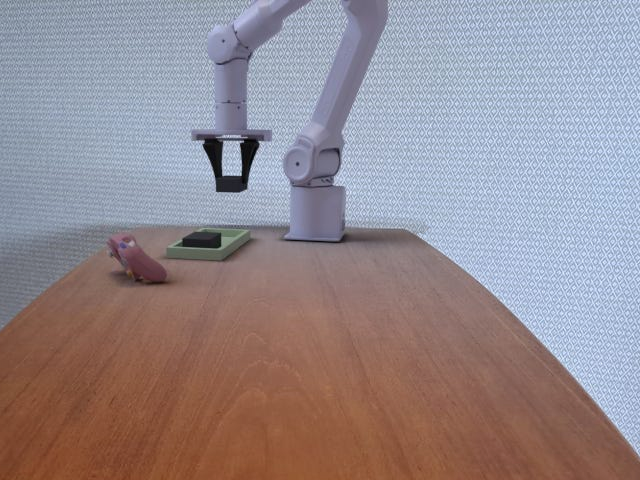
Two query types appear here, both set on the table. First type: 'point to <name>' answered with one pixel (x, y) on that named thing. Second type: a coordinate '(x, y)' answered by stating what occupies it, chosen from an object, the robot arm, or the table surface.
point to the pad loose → (230, 184)
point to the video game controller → (134, 258)
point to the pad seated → (202, 240)
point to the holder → (229, 241)
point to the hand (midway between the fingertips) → (232, 182)
